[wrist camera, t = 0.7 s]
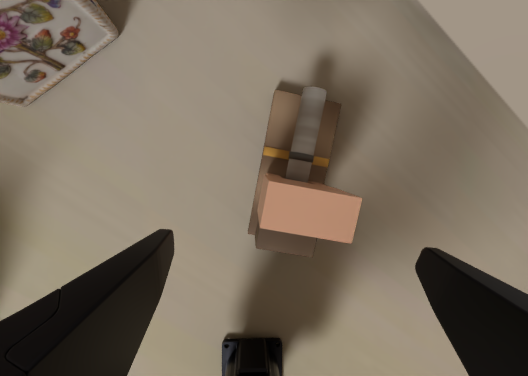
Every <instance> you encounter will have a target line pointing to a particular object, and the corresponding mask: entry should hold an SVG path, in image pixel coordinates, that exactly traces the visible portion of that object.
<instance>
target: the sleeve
mask: <svg viewBox="0 0 528 376" xmlns="http://www.w3.org/2000/svg"><path fill="white" fill-rule="evenodd" d="M361 202H362V198H360V197H358V196H355V195H352V194H350V193H347V192H344V191H342V190H339V189H336V188H333V187H329V186H326V185H324V184H321V183H318V182H312V181H308V183H306V182H301V181H295V180H290V179H285V178H282V177H281V176H279V175H275V174H270V173H266V175H264V178H263V183H262V188H261V194H260V199H259V204H258V209H257V212H258V219H259V226H260V228H262V229H268V230H274V231H280V232H286V233H292V234H298V235H303V236H309V237H315V238H321V239H327V240H333V241H338V242H344V243H350V244H352V240H353V236H354V232H355V228H356V223H357V219H358V215H359V211H360V207H361Z"/></svg>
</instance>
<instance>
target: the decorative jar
mask: <svg viewBox="0 0 528 376" xmlns="http://www.w3.org/2000/svg"><path fill="white" fill-rule="evenodd" d="M118 35H119V33H118V30H117V28H116V27H115V25H114V24H113V23H112V21H111V20H110V18H109V17H108V16H107V14H106V13H105V12H104V10H103V9H102V8H101V7H100V5H99V4H98V2H97V1H96V0H0V102H2V103H6V104H11V105H16V106H28V105H29V104H30V103H31V102H33V101H34V100H35V99H37V98H38V97H39V96H41V95H42V94H43V93H45V92H47V91H48V90H49V89H51V88H52V87H53V86H55V85H56V84H57V83H59V82H60V81H61V80H62V79H64V78H65V77H66V76H68V75H69V74H70V73H72V72H73V71H74V70H75V69H77V68H78V67H79V66H80V65H82V64H83V63H84V62H85V61H87V60H88V59H89V58H90V57H92V56H93V55H94V54H96V53H97V52H98V51H100V50H101V49H102V48H104V47H105V46H106V45H108V44H109V43H110V42H112V41H113V40H114V39H116V38H117V37H118Z"/></svg>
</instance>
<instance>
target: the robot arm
mask: <svg viewBox="0 0 528 376" xmlns="http://www.w3.org/2000/svg"><path fill="white" fill-rule="evenodd" d="M173 256H174V236H173V231H172V230H169V229H159V230H157V231H156V232H154V233H152V234H151V235H149V236H147V237H145V238H144V239H142V240H140V241H139V242H137V243H135V244H134V245H132V246H130V247H128V248H127V249H125V250H123V251H122V252H120V253H118V254H116V255H115V256H113V257H111V258H110V259H108V260H106V261H105V262H103V263H101V264H99V265H98V266H96V267H94V268H93V269H91V270H89V271H88V272H86V273H84V274H82V275H81V276H79V277H77V278H76V279H74V280H72V281H71V282H69V283H67V284H65V285H64V286H62V287H61V290H60V289H57V290H55V291H53V292H52V293H50V294H48V295H47V296H45V297H43V298H41V299H40V300H38V301H36V302H34V303H33V304H31V305H29V306H27V307H25V308H24V309H22V310H20V311H18V312H16V313H15V314H13V315H11V316H9V317H7V318H5V319H3V320H1V321H0V376H127V374H128V372H129V370H130V368H131V365H132V363H133V361H134V358H135V356H136V354H137V351H138V349H139V347H140V344H141V342H142V340H143V337H144V335H145V333H146V331H147V328H148V326H149V324H150V321H151V319H152V317H153V314H154V312H155V310H156V307H157V305H158V303H159V300H160V298H161V295H162V292H163V289H164V286H165V282H166V279H167V276H168V272H169V269H170V266H171V262H172V259H173ZM415 270H416V273H417V275H418V277H419V280H420V282H421V284H422V286H423V289H424V291H425V293H426V296H427V298H428V300H429V302H430V305H431V307H432V309H433V311H434V313H435V315H436V317H437V319H438V320H439V322H440V324H441V326H442V328H443V329H444V331H445V333H446V335H447V337H448V338H449V340H450V342H451V344H452V346H453V347H454V349H455V351H456V353H457V355H458V357H459V358H460V360H461V362H462V364H463V366H464V367H465V369H466V371H467V373H468V375H469V376H528V294H526V293H524V292H522V291H520V290H518V289H516V288H514V287H512V286H510V285H508V284H506V283H504V282H502V281H501V280H499V279H497V278H495V277H493V276H491V275H489V274H487V273H485V272H483V271H481V270H479V269H477V268H475V267H473V266H471V265H469V264H467V263H465V262H463V261H461V260H459V259H457V258H455V257H453V256H451V255H450V254H448V253H446V252H444V251H442V250H440V249H438V248H430V247H426V248H424V249H422V251H421V253H420V256H419V258H418V260H417V262H416V265H415ZM276 343H279V344H276ZM225 344H228V345H227V346H226V345H225ZM222 376H282V340H281V339H280V338H254V339H226V340H224V341H223V343H222Z"/></svg>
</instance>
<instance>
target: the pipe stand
mask: <svg viewBox="0 0 528 376" xmlns="http://www.w3.org/2000/svg"><path fill="white" fill-rule="evenodd" d="M326 94H327V91H326V90H324V89H322V88H319V87H312V86H309V87H304V88H303V92H302V95H298V94H293V93H289V92H284V91H279V90H275V92H274V96H273V101H272V107H271V112H270V117H269V122H268V128H267V133H266V138H265V144H264V149H263V154H262V159H261V165H260V170H259V175H258V181H257V186H256V191H255V196H254V202H253V207H252V212H251V218H250V223H249V228H248V234H252V235H255V243H256V248H258V249H264V250H270V251H276V252H282V253H288V254H294V255H300V256H306V257H312V258H313V253H314V249H315V244H316V240H317V238H315V237H309V236H303V235H298V234H292V233H286V232H280V231H274V230H268V229H262V228H260V226H259V219H258V212H257V209H258V204H259V199H260V194H261V188H262V183H263V178H264V175H266V173H270V174H275V175H279V176H281V177H282V178H285V179H290V180H295V181H301V182H306V183H308V181H312V182H318V183H321V184H324V181H325V176H326V172H327V167H328V164H329V158H330V153H331V149H332V144H333V140H334V135H335V131H336V126H337V122H338V117H339V113H340V108H341V104H340V103H335V102H330V101H326V100H325V99H326Z"/></svg>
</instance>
